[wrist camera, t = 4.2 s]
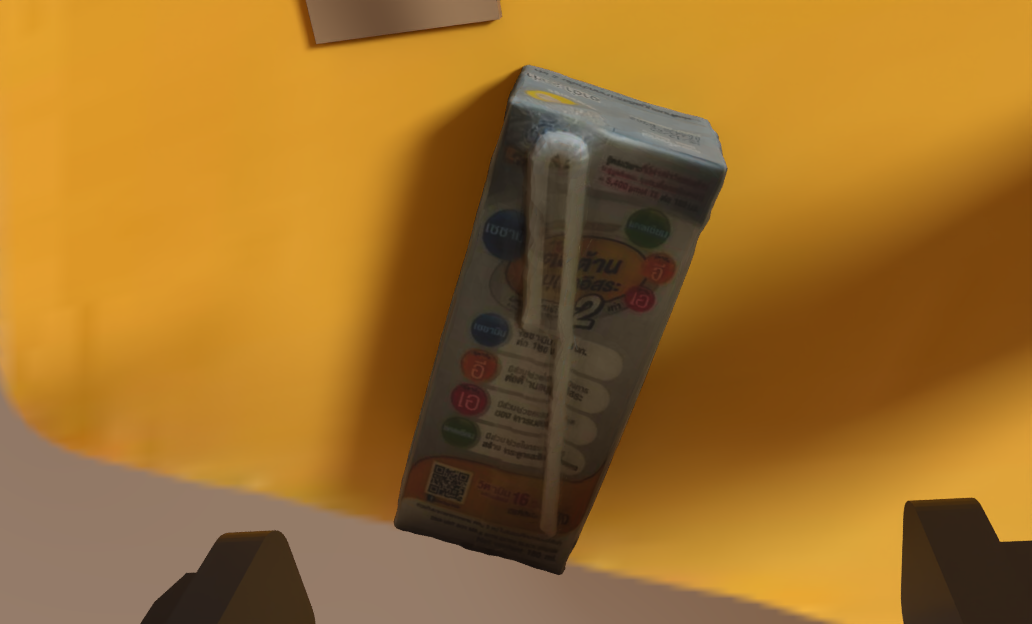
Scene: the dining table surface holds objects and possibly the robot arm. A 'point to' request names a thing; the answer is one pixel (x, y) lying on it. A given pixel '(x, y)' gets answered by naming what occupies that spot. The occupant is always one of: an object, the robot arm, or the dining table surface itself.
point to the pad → (393, 16)
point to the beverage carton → (556, 315)
